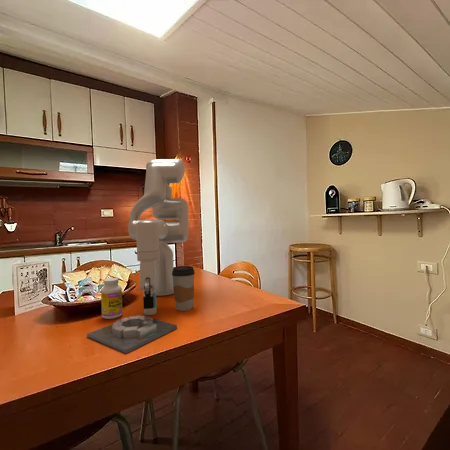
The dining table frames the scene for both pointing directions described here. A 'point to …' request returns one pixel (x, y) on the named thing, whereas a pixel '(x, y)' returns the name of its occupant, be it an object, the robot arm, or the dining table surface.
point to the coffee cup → (183, 287)
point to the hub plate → (132, 341)
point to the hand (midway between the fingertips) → (149, 303)
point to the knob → (154, 309)
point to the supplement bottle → (111, 299)
